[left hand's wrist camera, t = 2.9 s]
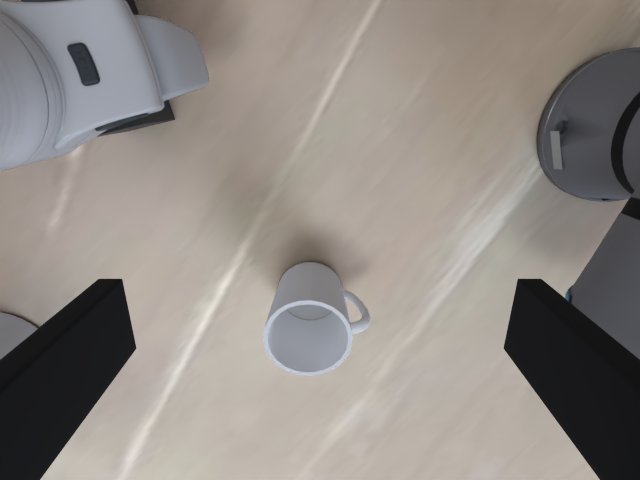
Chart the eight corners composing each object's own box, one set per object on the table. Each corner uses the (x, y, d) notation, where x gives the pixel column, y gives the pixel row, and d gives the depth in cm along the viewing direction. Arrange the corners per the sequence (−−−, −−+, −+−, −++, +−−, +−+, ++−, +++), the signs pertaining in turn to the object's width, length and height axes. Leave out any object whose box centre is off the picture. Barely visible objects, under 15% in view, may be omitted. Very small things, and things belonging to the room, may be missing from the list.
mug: (283, 325, 49) (274, 381, 39) (267, 264, 46) (253, 308, 36) (366, 312, 48) (378, 365, 39) (356, 248, 45) (366, 289, 36)
